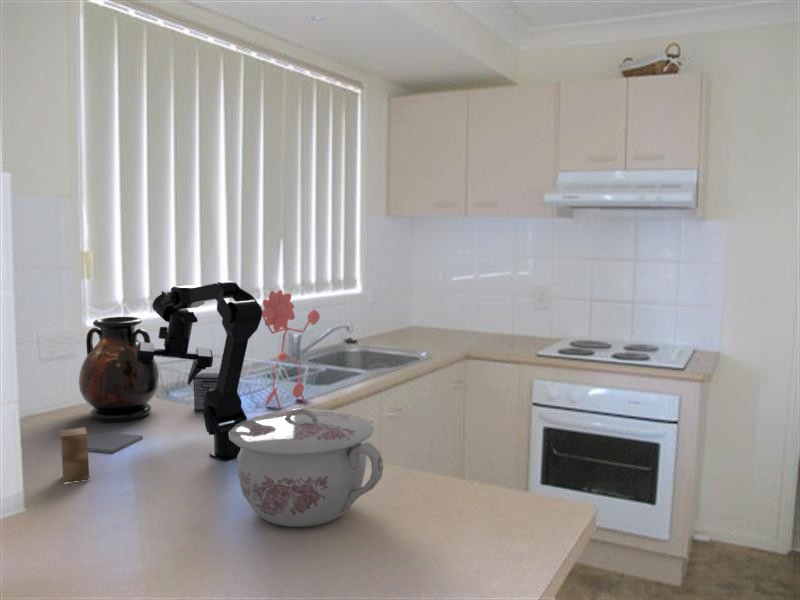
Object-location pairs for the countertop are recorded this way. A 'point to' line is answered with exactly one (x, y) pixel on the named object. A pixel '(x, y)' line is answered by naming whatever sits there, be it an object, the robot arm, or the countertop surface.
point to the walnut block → (74, 454)
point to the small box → (203, 388)
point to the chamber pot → (304, 464)
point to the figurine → (278, 314)
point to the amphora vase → (117, 372)
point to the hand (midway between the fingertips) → (170, 382)
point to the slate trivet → (111, 442)
